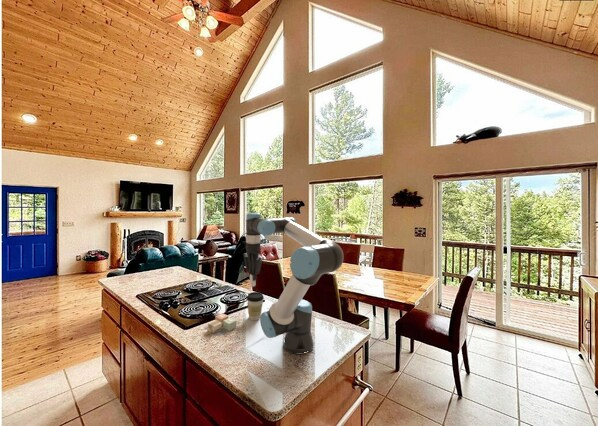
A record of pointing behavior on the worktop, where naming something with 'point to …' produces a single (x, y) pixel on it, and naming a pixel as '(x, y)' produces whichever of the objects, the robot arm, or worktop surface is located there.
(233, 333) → the worktop surface
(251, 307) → the coffee cup
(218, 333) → the square tile
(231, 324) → the sage block
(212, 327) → the birch block
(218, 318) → the terracotta block
